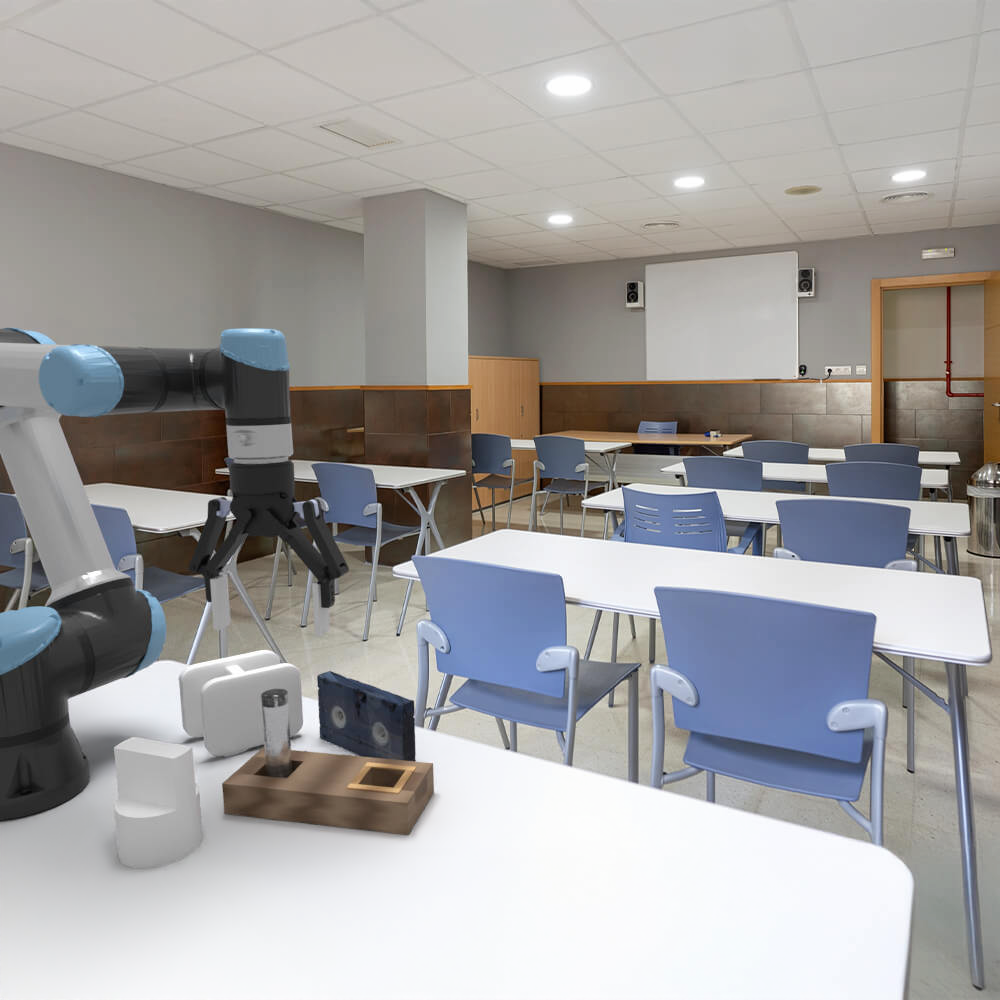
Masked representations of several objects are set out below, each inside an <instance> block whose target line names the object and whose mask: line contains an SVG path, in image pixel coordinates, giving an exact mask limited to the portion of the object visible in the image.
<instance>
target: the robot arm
mask: <svg viewBox="0 0 1000 1000" xmlns="http://www.w3.org/2000/svg"><path fill="white" fill-rule="evenodd" d="M290 365H291V364H290V362H289V355H288V348H287V339H286V337H285V335H284V334H283V332H282V331H280V330H277V329H274V328H256V327H255V328H250V327H248V328H245V327H244V328H230V329H225V330H223V331H222V332H221V334H220V344H219V346H218V347H216V348H215V347H214V348H210V347H207V348H178V347H177V348H175V347H143V346H142V347H141V346H139V347H135V346H134V347H129V346H111V345H94V344H81V343H80V344H57V343H56V342H55V341H54V340H53V339H51V338H50V337H49V336H47V335H45V334H43V333H41V332H38V331H35V330H28V329H27V330H26V329H25V330H24V329H22V328H19V327H4V328H3V327H2V328H0V456H1V459H2V461H3V465H4V467H5V469H6V472H7V474H8V478H9V480H10V483H11V485H12V488H13V492H14V494H15V496H16V499H17V501H18V503H19V507H20V509H21V512H22V514H23V517H24V520H25V522H26V525H27V527H28V529H29V533H30V536H31V538H32V541H33V543H34V547H35V549H36V551H37V554H38V558H39V560H40V561H41V562H40V563H41V564H42V568H43V570H44V573H45V575H46V578H47V581H48V583H49V584H48V585H50V589H51V593H50V595H49V597H48V599H47V601H46V603H45V605H44V606H41V605H39V606H28V607H27V606H26V607H22V608H20V609H17V610H14V609H11V610H7V611H3V612H0V821H5V820H10V819H17V818H22V817H26V816H30V815H34V814H37V813H41V812H43V811H46V810H49V809H51V808H54V807H57V806H59V805H60V804H62V803H65V802H66V801H68V800H71V798H73V797H75V796H76V795H78V794H79V793H80V792H81V791H82V790H84V788H85V787H86V786H87V785H88V783H89V782H90V779H91V770H90V762H89V758H88V756H87V754H86V753H85V752H84V751H83V750H82V747H81V744H80V742H79V740H78V738H77V735H76V733H75V731H74V729H73V728H72V725H71V720H70V719H71V718H70V711H69V699H72V698H74V697H77V696H79V695H81V694H84V693H87V692H90V691H92V690H95V689H97V688H100V687H103V686H105V685H108V684H110V683H114V682H116V681H119V680H120V679H126V678H129V677H131V676H133V675H135V674H136V673H137V672H140V671H143V670H145V669H147V668H149V667H150V666H151V665H153V664H154V663H155V662H156V661H157V660H158V659H159V657H160V656H161V654H162V652H163V650H164V645H165V643H166V641H167V640H166V639H167V621H166V616H165V613H164V612H165V611H164V609H163V608H162V607H163V606H162V605H161V603H160V602H159V600H158V599H157V597H155V596H153V595H152V593H150V592H149V591H147V590H143V589H136V587H135V584H134V582H133V580H132V577H131V575H129V574H127V573H124V572H122V571H119V570H117V568H116V566H115V565H114V562H113V560H112V556H111V554H110V552H109V549H108V546H107V544H106V541H105V538H104V536H103V533H102V530H101V528H100V526H99V522H98V519H97V518H96V515H95V512H94V509H93V506H92V504H91V502H90V499H89V496H88V494H87V491H86V489H85V486H84V483H83V480H82V479H81V475H80V473H79V470H78V467H77V465H76V462H75V461H74V460H75V459H74V457H73V454H72V452H71V450H70V449H71V448H70V447H69V444H68V442H67V439H66V437H65V434H64V431H63V429H62V426H61V423H60V418H61V417H62V416H68V417H79V418H80V417H82V418H83V417H84V418H95V417H101V416H108V415H110V416H111V415H124V414H136V413H142V414H145V413H146V414H147V413H163V412H184V411H186V412H187V411H188V412H189V411H214V410H215V411H216V410H222V411H224V412H225V426H226V437H227V450H228V451H227V452H228V453H227V455H228V457H229V458H230V459H231V460H232V459H233V461H232V462H231V463H230V465H229V466H228V470H229V475H228V476H229V488H230V491H231V494H232V499H231V500H229V499H227V498H226V497H224V496H220V497H217V498H213V499H210V500H209V501H208V502H207V518H206V520H205V523H204V526H203V528H202V531H201V534H200V536H199V539H198V541H197V544H196V546H195V548H194V552H193V554H192V557H191V559H190V562H189V565H188V570H189V571H190V572H191V573H197V574H200V575H201V576H202V577H203V579H204V586H205V587H204V588H205V589H204V590H205V599H206V601H207V603H211V610H212V613H211V614H212V624H213V625H212V626H213V631H221V630H223V629H224V628H226V627H228V626H230V625H231V623H232V622H231V621H232V619H231V607H230V595H229V593H230V591H229V578H228V574H227V573H224V568H225V567H226V566H227V564H228V563H229V562H230V560H231V559H232V557H233V556H234V554H235V553H236V552H237V550H238V549H239V547H241V545H242V544H243V542H244V541H245V539H246V538H247V537H248V536H250V537H251V538H256V537H260V536H262V537H266V538H276V537H277V536H278V537H279V538H280V539H281V540H282V541H283V542H286V543H287V544H288V546H289V547H290V549H292V551H293V552H294V553H295V554H296V555H297V557H298V558H299V559H300V560H301V561H302V563H303V564H304V565H305V566H306V567H307V569H308V570H309V571H310V572H311V573H312V575H313V576H314V577H315V578H316V579H317V580H316V581H314V582H312V583H311V586H312V588H311V590H312V611H313V625H314V626H313V627H314V628H313V629H314V631H313V632H314V636H315V637H321V636H323V635H324V634H326V633H327V632H328V631H330V630H331V626H330V624H331V623H330V608H331V607H333V606H334V605H335V602H336V596H335V595H336V593H335V590H336V589H335V580H336V579H340V578H341V577H343V576H345V575H346V574H348V572H349V571H350V568H349V565H348V563H347V562H346V560H345V558H344V556H343V554H342V552H341V550H340V548H339V546H338V544H337V542H336V540H335V538H334V536H333V534H332V533H331V531H330V528H329V526H328V524H327V522H326V521H325V519H324V517H323V512H322V504H321V501H320V500H319V499H318V498H313V499H310V500H307V501H298V500H297V499H296V496H295V489H296V486H295V485H296V480H295V465H294V464H295V463H294V462H293V460H291V459H289V457H291V456H293V454H294V445H293V444H294V443H293V431H292V417H291V401H290V400H291V398H290V369H291V367H290ZM230 513H231V514H232V515H233V517H234V518H235V519H236V522H235V523H234V524H233V526H232V527H231V528H230V530H229V531H228V535H227V537H225V539H224V540H223V542H222V543H221V544H220V546H219V548H217V550H216V551H215V549H216V547H217V544H218V541H219V540H220V539H219V538H220V536H221V534H222V532H223V528H224V526H225V524H226V520H227V517H228V516H230ZM297 514H299V517H300V518H301V519H302V520H304V523H305V526H306V528H307V530H308V532H309V533H310V535H311V537H312V539H313V541H314V543H315V545H316V547H317V548H318V549H317V548H316V547H315V546H314V544H313V543H312V542H311V541H310V540H309V539H308V537H307V535H305V534H304V532H303V529H302V527H301V526H300V524H299V523H298V522H297V521H296V520H295V519H294V518H295V517H296V515H297ZM214 552H215V553H214ZM220 573H221V574H220Z"/></svg>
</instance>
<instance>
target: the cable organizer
mask: <svg viewBox="0 0 1000 1000" xmlns="http://www.w3.org/2000/svg"><path fill="white" fill-rule="evenodd" d="M301 675H302V674H301V670H300V669H299V668H298V667H296V666H295V665H294V664H292V663H289V662H287V663H286V662H283V663H282V662H281V658H280V656H279V655H278V654H276V653H275V652H274V651H271V650H268V649H261V650H255V651H251V652H247V653H246V652H245V653H242V654H241V653H240V654H236V655H232V656H227V657H223V658H221V657H220V658H216V659H213V660H207V661H204V662H198V663H193V664H190V665H188V666H186V667H185V668H184V669H183V670H182V671H181V672H180V674H179V676H178V682H179V684H178V685H179V696H180V699H179V700H180V707H181V708H180V710H181V722H182V723H181V724H182V728H183V730H184V732H185V733H186V734H187V735H188V736H190V737H192V738H203V745H204V749H206V751H207V752H208V753H209V754H210V755H212V756H215V757H216V756H217V757H222V756H223V757H224V758H227V757H231V756H234V755H238V754H241V753H245V752H247V751H248V750H249V749H251V748H256V747H259V746H262V745H264V731H263V715H262V699H261V694H262V693H263V692H265V691H267V690H271V689H285V690H287V692H288V707H289V725H290V738H292V737H293V736H295V735H296V734H298V733H299V732H300V730H301V729H302V728H303V725H304V715H303V714H304V713H303V698H302V697H303V696H302V695H303V694H302V678H301Z"/></svg>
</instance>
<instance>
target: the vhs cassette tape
mask: <svg viewBox="0 0 1000 1000" xmlns="http://www.w3.org/2000/svg"><path fill="white" fill-rule="evenodd" d="M316 681H317V687H318V689H317V698H318V702H317V703H318V704H317V705H318V721H319V722H318V723H319V738H320V740H323V741H324V742H327V743H330V744H332V745H335V746H337V747H339V748H341V749H344V750H346V751H348V752H351V753H352V754H355V755H356V756H361V757H372V758H382V759H393V760H404V761H415V762H417V760H416V759H417V758H416V755H417V753H416V751H417V750H416V731H415V730H416V724H415V721H416V719H415V717H414V716H415V700H412V699H409V698H406V697H405V696H402V695H399V694H397V693H392V692H390V691H387V690H384V689H381V688H379V687H376V686H374V685H372V684H371V685H370V684H368V683H365V682H361V681H359V680H356V679H354V678H349V677H345V676H344V675H342V674H339V673H336V672H333V671H331V670H329V671H325V672H322V673H319V674H317V679H316Z"/></svg>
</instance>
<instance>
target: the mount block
mask: <svg viewBox="0 0 1000 1000" xmlns="http://www.w3.org/2000/svg"><path fill="white" fill-rule="evenodd" d="M291 759H292V774H291V775H290V776H289V777H288V778H278V777H268V776H266V762H265V747H261V749H259V750H258V751H257V752H256V753H255V754H254V755H253V756H251V758H249V759H248V760H247V761H246V762H244V763H243V764H242V765H241V766H240V767H239V768H238V769H237V770H236V771H234V772H232V774H231V775H230V776H229V777H227V778H226V779H225V780H224V781H223V782H222V783H221V785H222V787H221V789H222V800H223V814H225V815H234V816H241V817H251V818H259V819H268V820H277V821H284V822H285V821H287V822H293V823H294V822H295V823H302V824H310V825H318V826H319V825H320V826H328V827H329V826H330V827H337V828H346V829H353V830H354V829H355V830H364V831H372V832H380V833H381V832H382V833H388V834H389V833H390V834H398V835H406V836H407V835H408V836H409V835H410V833H411V831H412V829H413V828H414V827H415V824H416V823H417V821H418V820H419V819H420V816H421V815H422V814H423V812H424V810H425V809H426V806H427V804H428V803H429V801H430V800H431V798H432V796H433V795H434V793H435V784H434V782H435V781H434V763H433V762H424V761H423V762H422V761H416V762H415V761H404V760H393V759H382V758H372V757H362V756H359V755H350V754H349V755H348V754H338V753H328V752H315V751H307V750H305V751H304V750H297V749H291Z"/></svg>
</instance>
